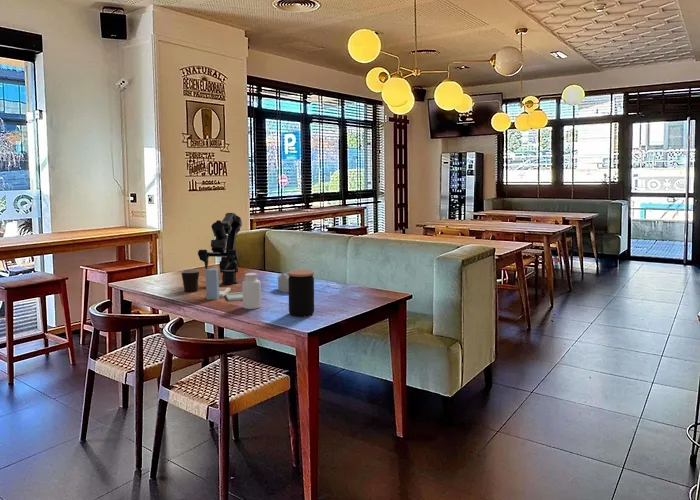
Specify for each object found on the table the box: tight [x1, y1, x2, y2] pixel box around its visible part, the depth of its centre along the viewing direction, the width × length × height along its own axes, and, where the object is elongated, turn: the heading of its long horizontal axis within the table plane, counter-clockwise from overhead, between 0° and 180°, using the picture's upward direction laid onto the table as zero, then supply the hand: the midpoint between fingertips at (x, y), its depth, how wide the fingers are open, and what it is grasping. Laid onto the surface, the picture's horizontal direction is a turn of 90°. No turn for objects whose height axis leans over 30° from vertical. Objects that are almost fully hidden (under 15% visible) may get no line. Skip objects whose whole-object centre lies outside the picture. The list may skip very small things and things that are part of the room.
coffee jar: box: [287, 269, 315, 318], centre depth 234 cm, size 11×11×18 cm
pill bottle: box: [241, 272, 262, 310], centre depth 245 cm, size 8×8×15 cm
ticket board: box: [205, 287, 231, 298], centre depth 274 cm, size 16×8×1 cm, turn 0°
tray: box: [224, 291, 243, 302], centre depth 265 cm, size 12×12×1 cm
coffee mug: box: [181, 269, 200, 293], centre depth 280 cm, size 12×9×10 cm
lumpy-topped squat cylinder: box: [277, 271, 290, 294], centre depth 282 cm, size 10×13×9 cm
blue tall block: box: [205, 267, 221, 300], centre depth 262 cm, size 5×5×14 cm
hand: (215, 269), depth 268 cm, fingers open, 9 cm apart
